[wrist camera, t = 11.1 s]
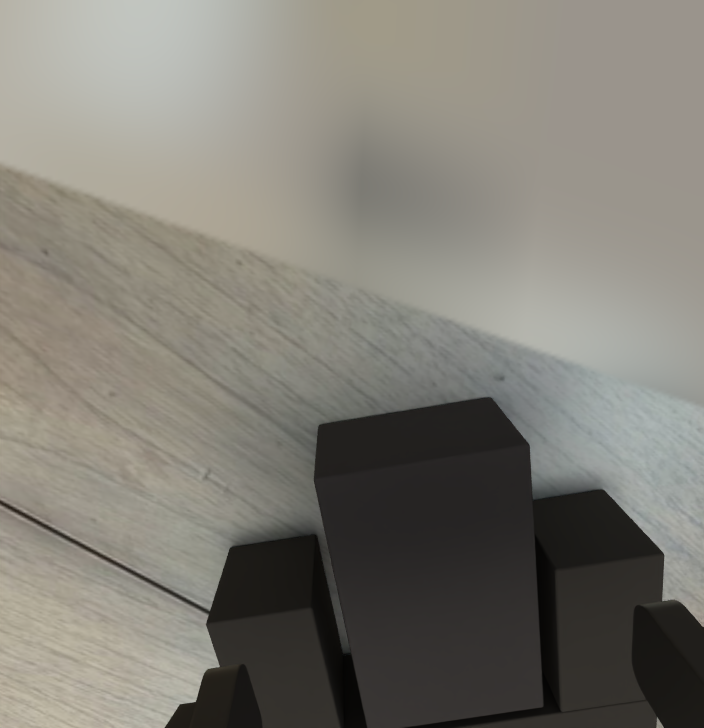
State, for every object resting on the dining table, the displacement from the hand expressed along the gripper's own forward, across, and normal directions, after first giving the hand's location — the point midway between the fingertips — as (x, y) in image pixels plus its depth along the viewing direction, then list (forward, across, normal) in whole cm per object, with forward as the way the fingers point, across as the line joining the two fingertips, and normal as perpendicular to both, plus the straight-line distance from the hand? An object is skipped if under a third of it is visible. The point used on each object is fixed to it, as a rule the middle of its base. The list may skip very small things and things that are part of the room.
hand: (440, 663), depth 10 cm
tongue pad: (+8, -1, +3) cm, 8 cm away
